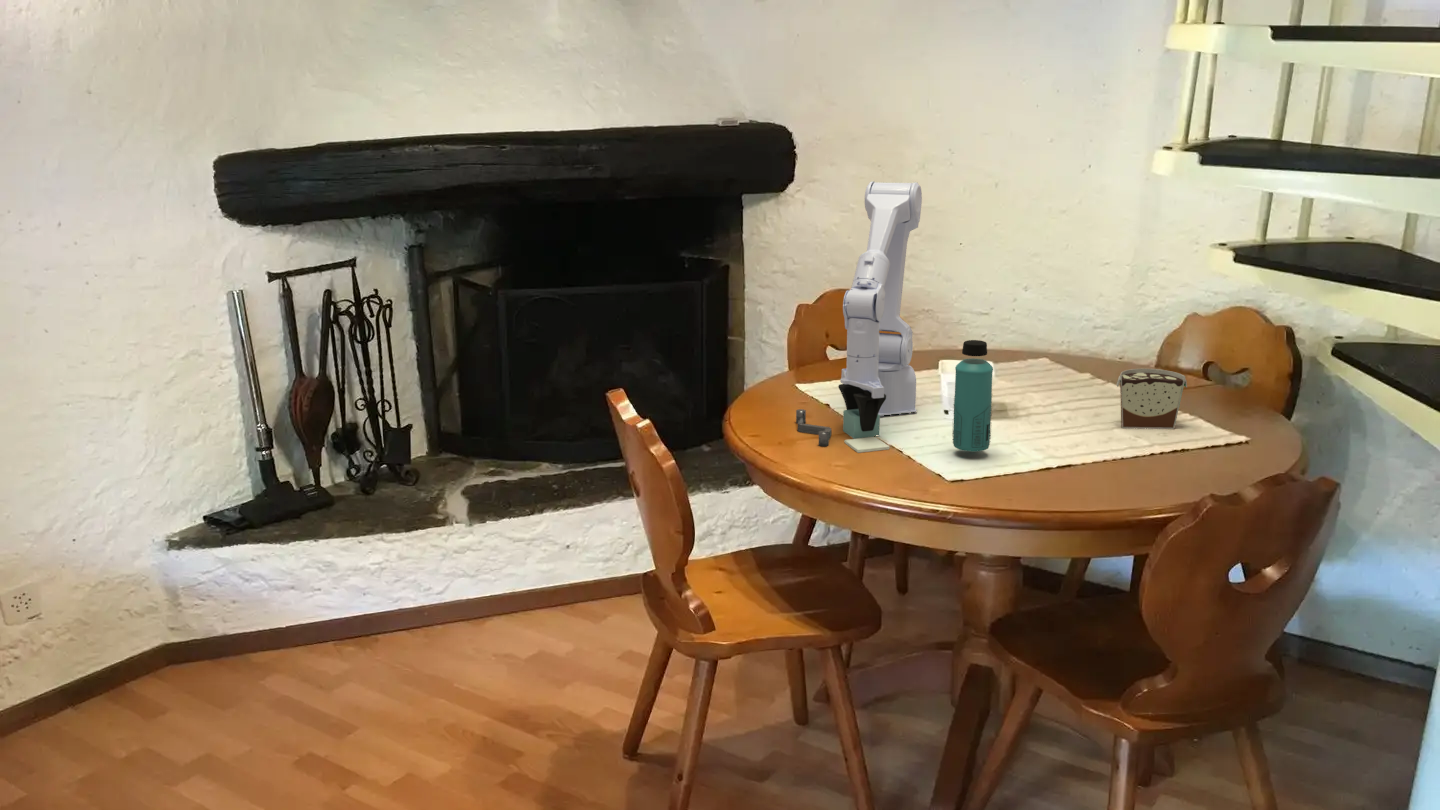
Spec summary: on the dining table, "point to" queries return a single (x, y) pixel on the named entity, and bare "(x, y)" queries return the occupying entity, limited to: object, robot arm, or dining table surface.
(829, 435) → the grey zigzag bar
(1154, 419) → the food container
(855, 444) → the coaster
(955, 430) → the beverage bottle
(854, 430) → the hollow square tube
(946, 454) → the dining table surface
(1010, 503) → the dining table surface
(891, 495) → the dining table surface
